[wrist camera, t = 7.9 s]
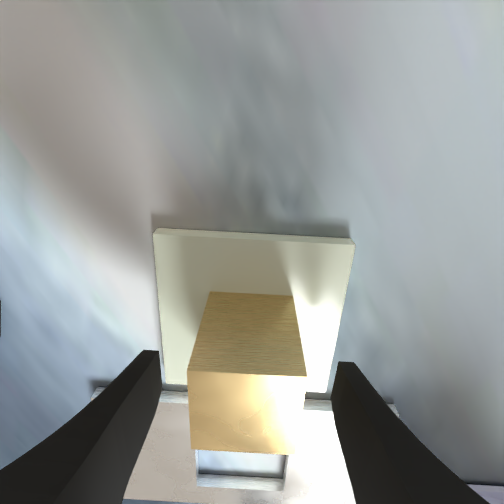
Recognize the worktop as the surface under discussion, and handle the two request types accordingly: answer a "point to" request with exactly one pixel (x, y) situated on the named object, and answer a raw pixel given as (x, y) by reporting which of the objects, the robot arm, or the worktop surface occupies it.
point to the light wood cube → (247, 375)
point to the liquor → (0, 318)
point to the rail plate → (239, 487)
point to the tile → (251, 287)
